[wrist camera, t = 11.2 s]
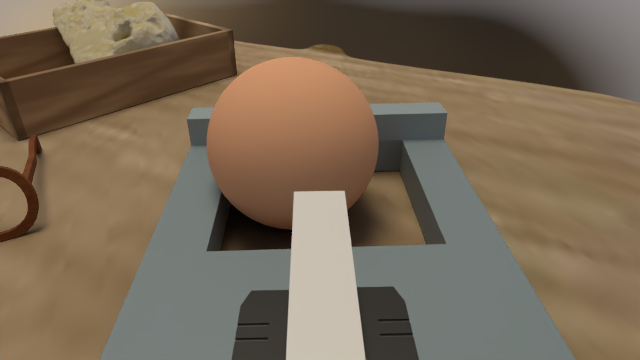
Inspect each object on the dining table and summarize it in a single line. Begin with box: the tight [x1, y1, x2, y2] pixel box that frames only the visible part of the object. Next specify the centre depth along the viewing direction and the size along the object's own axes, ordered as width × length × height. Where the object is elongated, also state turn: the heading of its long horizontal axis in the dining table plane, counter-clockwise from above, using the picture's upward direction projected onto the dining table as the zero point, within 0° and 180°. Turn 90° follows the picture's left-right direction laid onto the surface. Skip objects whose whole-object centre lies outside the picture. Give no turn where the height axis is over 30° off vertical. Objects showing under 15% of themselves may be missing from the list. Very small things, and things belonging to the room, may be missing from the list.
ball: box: [207, 57, 379, 229], centre depth 29 cm, size 10×10×10 cm
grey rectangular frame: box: [100, 102, 576, 360], centre depth 23 cm, size 30×18×4 cm, turn 2°
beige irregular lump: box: [53, 0, 180, 64], centre depth 53 cm, size 15×7×15 cm
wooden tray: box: [0, 13, 237, 140], centre depth 52 cm, size 16×23×5 cm
